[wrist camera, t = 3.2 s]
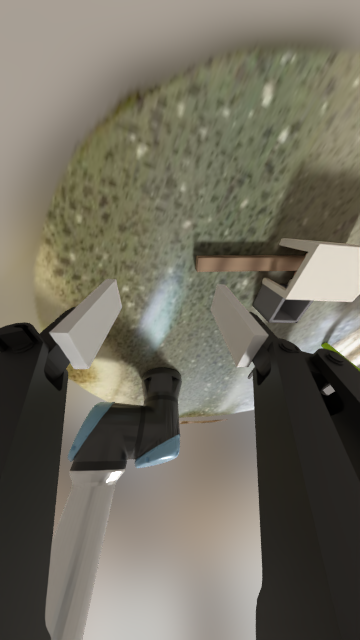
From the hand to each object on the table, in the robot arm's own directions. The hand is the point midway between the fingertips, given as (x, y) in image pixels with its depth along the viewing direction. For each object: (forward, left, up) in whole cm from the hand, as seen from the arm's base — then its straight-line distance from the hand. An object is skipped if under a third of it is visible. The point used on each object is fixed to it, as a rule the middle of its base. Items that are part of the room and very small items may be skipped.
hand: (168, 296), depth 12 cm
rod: (+16, 0, -18) cm, 24 cm away
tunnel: (+29, -3, -17) cm, 34 cm away
